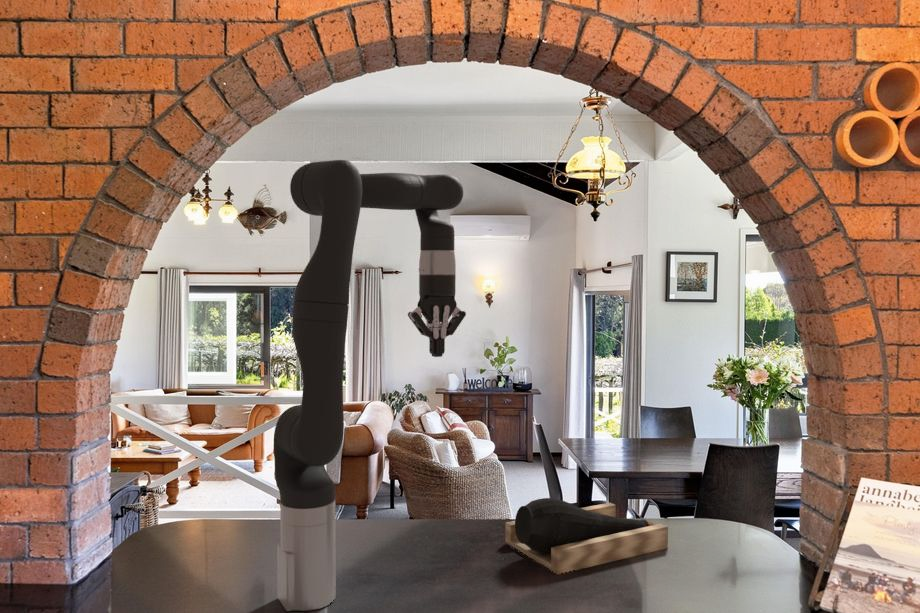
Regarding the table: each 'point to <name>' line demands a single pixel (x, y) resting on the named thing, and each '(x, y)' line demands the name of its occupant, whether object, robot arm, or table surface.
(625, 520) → the bottle
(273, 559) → the table surface
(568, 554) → the trough
